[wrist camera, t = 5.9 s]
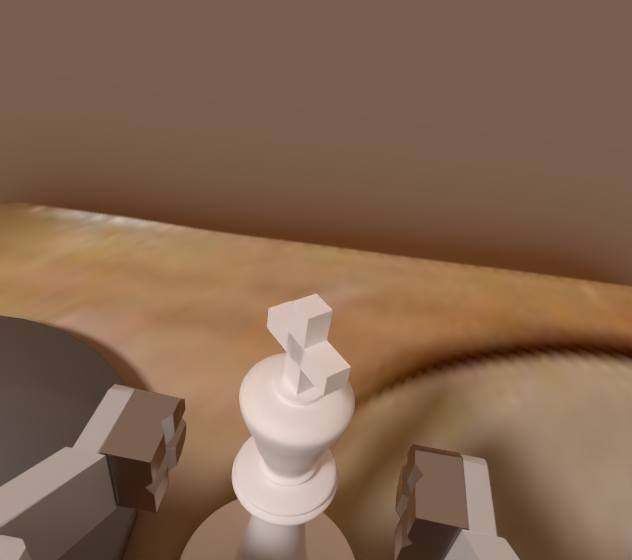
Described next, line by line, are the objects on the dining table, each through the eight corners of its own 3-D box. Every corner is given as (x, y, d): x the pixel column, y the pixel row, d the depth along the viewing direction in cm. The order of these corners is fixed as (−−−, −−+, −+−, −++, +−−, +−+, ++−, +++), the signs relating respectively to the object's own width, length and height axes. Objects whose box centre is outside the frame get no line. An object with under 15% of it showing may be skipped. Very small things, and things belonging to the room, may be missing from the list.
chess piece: (224, 763, 11) (242, 528, 5) (142, 557, 14) (92, 257, 8) (396, 624, 14) (547, 357, 8) (295, 475, 17) (345, 199, 11)
